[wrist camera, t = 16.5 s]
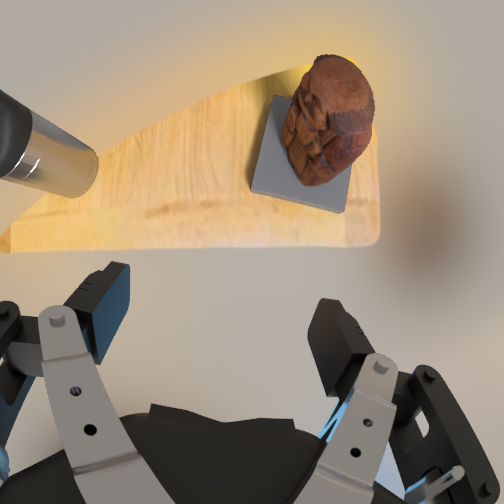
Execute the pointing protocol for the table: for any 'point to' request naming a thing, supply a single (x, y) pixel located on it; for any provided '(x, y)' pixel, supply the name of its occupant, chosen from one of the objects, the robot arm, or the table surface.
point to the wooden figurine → (328, 120)
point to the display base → (283, 175)
